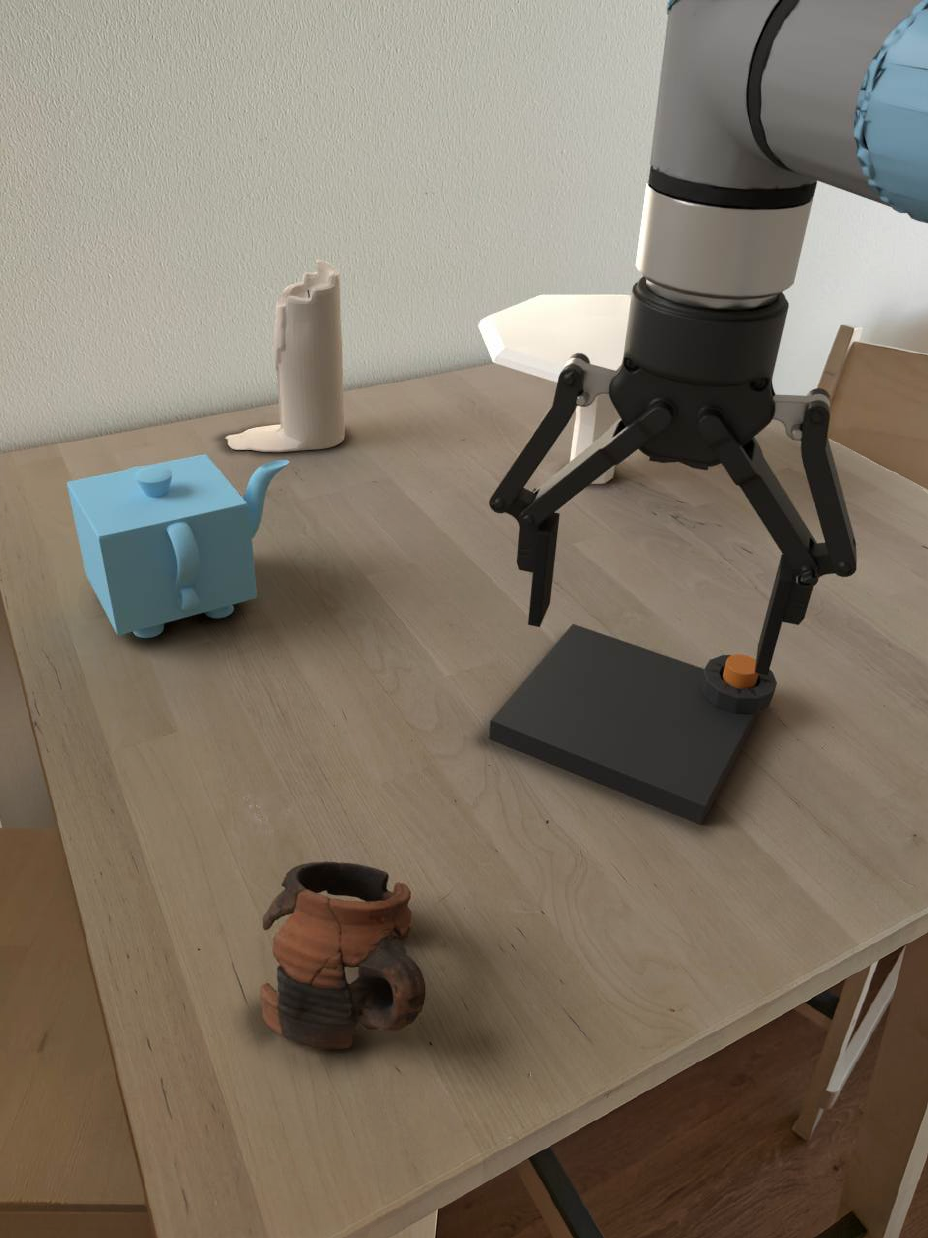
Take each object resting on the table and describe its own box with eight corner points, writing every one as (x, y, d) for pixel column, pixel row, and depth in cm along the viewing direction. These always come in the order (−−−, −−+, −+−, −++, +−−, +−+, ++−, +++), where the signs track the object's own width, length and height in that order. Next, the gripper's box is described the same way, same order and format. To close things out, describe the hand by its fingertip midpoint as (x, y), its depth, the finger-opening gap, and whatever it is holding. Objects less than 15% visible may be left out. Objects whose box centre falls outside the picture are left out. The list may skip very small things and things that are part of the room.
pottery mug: (216, 1004, 58) (236, 867, 58) (338, 967, 66) (357, 845, 65) (355, 1106, 51) (380, 949, 50) (477, 1052, 58) (500, 914, 57)
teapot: (129, 668, 83) (103, 531, 75) (82, 576, 94) (55, 449, 86) (330, 610, 91) (324, 481, 83) (265, 532, 101) (255, 412, 94)
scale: (774, 702, 82) (784, 669, 80) (711, 829, 71) (720, 793, 69) (576, 633, 89) (580, 601, 87) (488, 738, 77) (491, 703, 75)
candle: (223, 430, 120) (205, 259, 109) (339, 421, 124) (333, 254, 112) (228, 457, 115) (210, 279, 103) (349, 447, 118) (344, 273, 106)
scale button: (760, 676, 80) (764, 660, 79) (750, 693, 78) (754, 678, 77) (728, 665, 81) (732, 649, 80) (718, 682, 79) (721, 666, 78)
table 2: (707, 556, 101) (739, 398, 91) (438, 511, 106) (442, 358, 97) (722, 441, 123) (750, 305, 114) (499, 409, 128) (508, 277, 119)
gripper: (978, 294, 49) (861, 644, 61) (486, 233, 54) (469, 566, 67) (997, 346, 43) (863, 721, 55) (442, 271, 49) (433, 628, 61)
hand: (648, 637), depth 61 cm, fingers open, 13 cm apart
